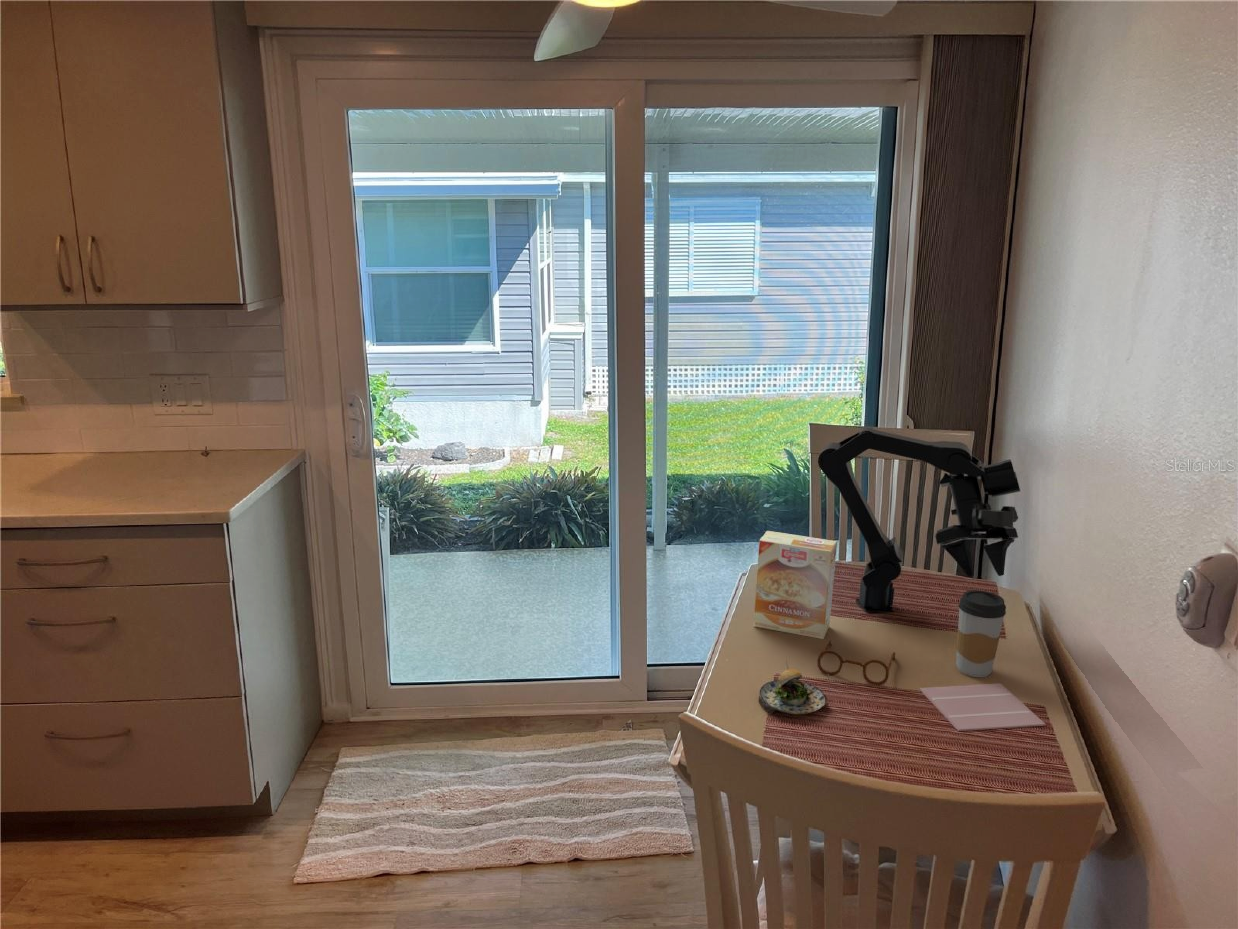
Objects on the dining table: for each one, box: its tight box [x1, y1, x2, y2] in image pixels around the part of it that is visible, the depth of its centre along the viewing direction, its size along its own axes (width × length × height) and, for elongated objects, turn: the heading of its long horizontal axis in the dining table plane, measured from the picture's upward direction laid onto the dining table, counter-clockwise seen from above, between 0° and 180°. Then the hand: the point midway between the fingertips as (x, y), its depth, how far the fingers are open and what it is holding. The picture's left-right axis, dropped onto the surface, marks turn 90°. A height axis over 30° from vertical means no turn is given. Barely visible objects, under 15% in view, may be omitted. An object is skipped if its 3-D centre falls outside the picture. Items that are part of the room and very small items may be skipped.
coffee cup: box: [955, 589, 1007, 678], centre depth 170 cm, size 8×8×15 cm
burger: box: [758, 659, 828, 715], centre depth 158 cm, size 12×12×8 cm
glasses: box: [816, 640, 896, 686], centre depth 173 cm, size 13×13×5 cm
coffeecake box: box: [753, 530, 838, 640], centre depth 187 cm, size 15×7×20 cm, turn 68°
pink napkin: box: [919, 683, 1046, 732], centre depth 159 cm, size 16×14×1 cm
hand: (986, 576), depth 182 cm, fingers open, 9 cm apart
